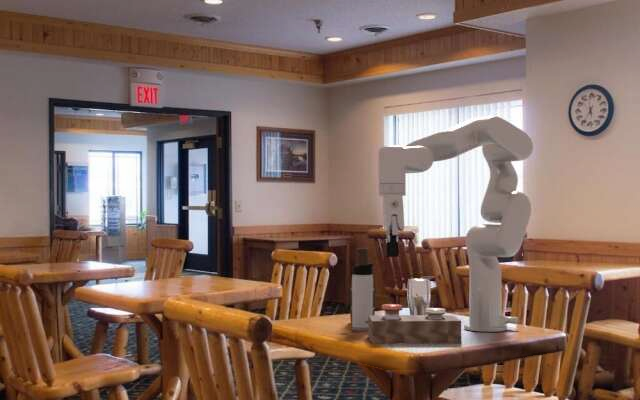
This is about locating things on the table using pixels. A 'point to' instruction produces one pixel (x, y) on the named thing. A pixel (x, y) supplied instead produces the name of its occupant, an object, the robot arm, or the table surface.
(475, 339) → the table surface
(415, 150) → the robot arm
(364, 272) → the travel mug
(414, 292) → the beer glass
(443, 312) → the plug cream
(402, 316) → the socket board
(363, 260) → the beer bottle
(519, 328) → the table surface
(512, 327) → the table surface
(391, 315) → the plug terracotta
